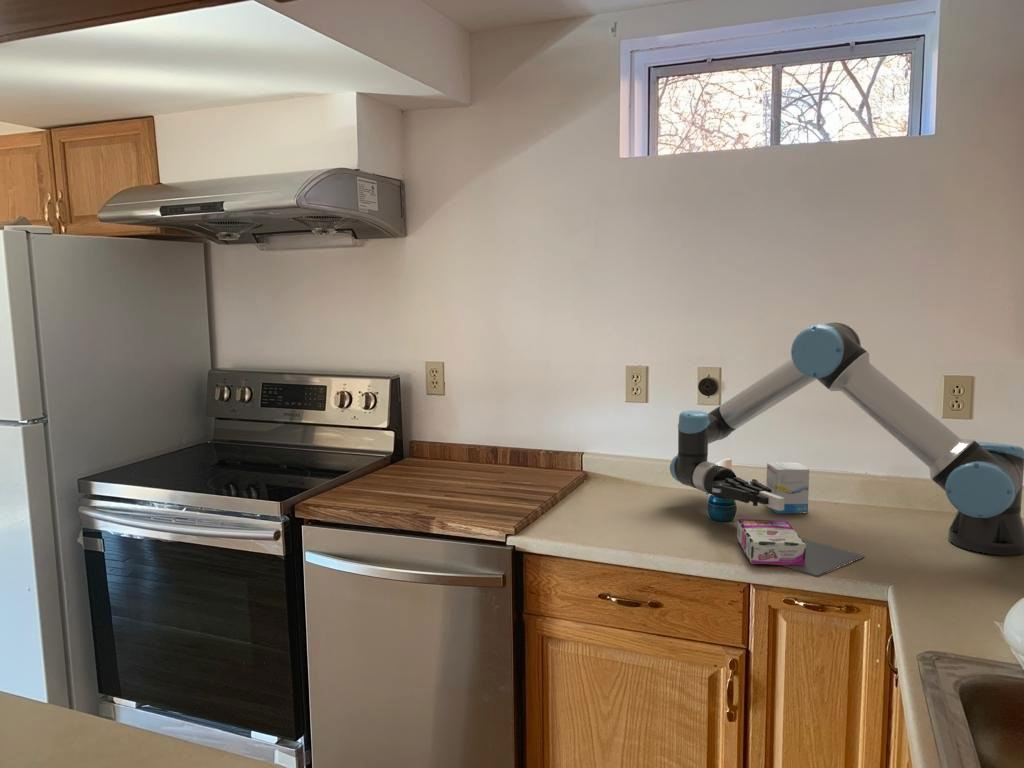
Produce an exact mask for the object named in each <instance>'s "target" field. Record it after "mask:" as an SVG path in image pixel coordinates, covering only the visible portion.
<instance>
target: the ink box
mask: <svg viewBox="0 0 1024 768" xmlns="http://www.w3.org/2000/svg"><path fill="white" fill-rule="evenodd" d="M765 484H766V485H765V486H766V487H768V488H770V489H772V494H774V495H777V496H780V497H783V498H785V500H784V510H781V511H778V510H775V509H773V508H770V507H768V508H769V509H770V510H771V509H772V510H773V511H774V512H775V513H774V512H773V511H772V510H771V511H772V512H773V513H774V514H804V513H803V512H808V513H809V494H810V493H809V491H810V490H809V488H810V469H809V468H807V467H806V466H804V465H803V464H801V463H799V462H794V461H793V462H788V461H787V462H786V461H785V462H780V461H775V462H766V483H765ZM800 512H801V513H800Z"/></svg>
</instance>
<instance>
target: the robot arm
mask: <svg viewBox="0 0 1024 768" xmlns="http://www.w3.org/2000/svg"><path fill="white" fill-rule="evenodd" d="M790 354H791V355H790V357H791V358H790V359H789V360H787V361H786V362H785V363H783V364H781V365H780V366H778V367H777V368H775V369H774V370H772V371H771V372H769V373H767V374H766V375H765V376H763V377H762V378H760V379H758V380H757V381H755V382H754V383H753V384H751V385H750V386H748V387H747V388H745V389H743V390H742V391H740V392H739V393H737V394H736V395H733V397H731V398H729V400H727V401H725V402H723V403H722V404H721V405H719V406H718V407H716V408H714V409H712V410H711V411H710V412H708V413H707V412H705V411H702V410H684V411H682V412H680V413H679V416H678V423H677V424H678V425H677V429H678V433H677V435H678V436H677V437H678V438H677V440H678V441H677V443H678V445H677V455H675V456H674V457H673V458H672V460H671V462H670V464H669V472H670V475H671V477H672V478H673V479H674V480H676V482H677V481H678V482H679V483H681V484H683V485H685V486H688V487H691V488H693V489H696V490H698V491H701V492H704V493H706V495H711V496H714V497H716V498H718V499H730V500H733V501H737V502H741V503H745V504H749V503H750V502H751V503H752V506H753V507H757V506H758V504H760V505H763V506H765V507H768V508H769V507H770V508H773V509H775V510H778V511H781V510H784V500H785V498H783V497H780V496H777V495H774V494H772V489H770V488H768V487H766V485H764V484H763V483H761V482H758V479H755V478H752V479H751V480H750V481H748V480H745V479H742V478H741V477H738V476H737V475H736V473H735V472H734V471H733V470H732V469H730V468H728V467H725V466H722V465H720V466H718V465H719V464H717V463H713V462H710V461H708V454H709V444H712V443H714V442H716V441H721V440H723V439H725V438H728V437H729V435H731V434H732V433H733V432H734V431H736V430H737V429H739V428H740V427H741V426H744V425H745V424H747V423H749V422H750V421H751V420H753V419H754V418H756V417H758V416H759V415H762V414H763V413H764V412H766V411H768V410H769V409H771V408H772V407H775V406H776V405H777V404H779V403H780V402H783V400H785V399H787V398H788V397H790V396H792V395H793V394H795V393H797V392H799V391H800V390H801V389H803V388H805V387H806V386H807V385H809V384H811V383H813V382H814V381H816V380H817V381H818V382H820V383H821V384H822V385H823V386H824V387H825V388H826V389H828V390H829V391H830V392H842V393H843V394H844V395H845V396H846V397H847V398H848V399H850V400H851V401H852V402H853V403H854V404H855V405H857V406H858V407H859V408H860V409H861V410H862V411H864V413H866V414H867V415H868V417H871V418H872V419H873V420H874V421H875V422H876V423H877V424H879V426H881V428H883V429H884V430H885V431H887V433H889V435H891V436H893V438H894V439H895V440H897V441H898V442H899V443H900V444H901V445H903V446H904V447H905V448H906V449H907V450H908V451H910V452H911V453H912V454H913V455H914V456H915V457H917V458H918V459H919V460H920V461H921V462H923V464H924V465H926V466H927V467H928V469H929V476H930V479H931V481H933V482H934V483H936V485H938V486H939V487H940V488H941V489H942V490H943V491H944V492H945V495H946V497H947V499H948V501H949V502H950V505H952V507H954V508H955V509H956V510H957V511H956V513H955V515H954V517H953V520H952V522H951V524H950V526H949V528H948V533H947V534H948V535H947V537H948V538H947V540H948V539H949V540H948V542H949V541H950V542H949V543H951V542H952V543H953V544H952V543H951V544H952V545H954V544H955V545H954V546H956V545H957V546H956V547H958V546H959V547H958V548H960V547H961V548H960V549H963V548H964V550H966V549H969V550H968V551H970V550H973V551H972V552H974V551H977V552H976V553H979V552H982V553H981V554H984V553H988V554H987V555H991V554H994V555H993V556H1020V555H1023V554H1024V523H1023V518H1022V513H1021V512H1022V498H1023V497H1022V496H1023V486H1024V485H1023V483H1024V448H1023V447H1021V446H1020V445H1014V444H1006V443H1005V444H1004V443H998V442H986V441H976V439H975V440H974V439H966V438H965V439H963V438H960V437H959V436H958V435H956V434H955V433H954V432H953V431H952V430H951V429H949V428H948V427H947V426H946V425H945V424H944V423H942V422H941V421H940V420H939V419H938V418H936V417H935V416H934V415H932V414H931V413H930V411H928V410H926V409H925V408H924V407H923V406H922V405H921V404H919V403H918V402H917V401H916V400H915V399H914V398H912V397H911V396H910V395H908V394H907V393H906V392H905V391H904V390H903V389H902V388H900V387H899V386H898V385H897V384H895V383H894V382H893V381H892V380H891V379H889V378H888V377H887V376H886V375H885V374H883V372H882V371H880V370H879V369H877V368H876V367H875V366H874V365H872V364H871V362H870V353H869V352H868V351H867V350H866V349H865V348H863V347H862V346H861V340H860V337H859V335H858V334H857V332H856V331H855V330H854V329H853V328H852V327H851V326H849V325H847V324H845V323H840V322H829V323H815V324H813V325H810V326H808V327H806V328H804V329H803V330H801V331H800V332H799V333H798V334H797V335H796V336H795V338H794V340H793V342H792V344H791V350H790ZM716 464H717V465H716ZM770 508H769V509H770Z"/></svg>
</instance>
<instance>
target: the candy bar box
mask: <svg viewBox="0 0 1024 768" xmlns="http://www.w3.org/2000/svg"><path fill="white" fill-rule="evenodd" d="M736 532H737V533H736V538H737V541H738V542H739V545H740V546H741V548H742V551H743V550H744V552H745V554H744V555H746V557H747V559H748V561H749V562H750V564H751V565H779V566H781V565H799V566H805V554H806V544H805V543H804V541H803V540H802V539H801V538H802V537H801V536H800V535H799V534H798V533H797V531H796V530H795V529H794V528H793V526H792V525H791V524H790V523H789V522H788V520H774V519H773V520H772V519H752V518H751V519H749V518H747V519H746V518H737V531H736Z"/></svg>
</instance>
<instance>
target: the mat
mask: <svg viewBox="0 0 1024 768" xmlns="http://www.w3.org/2000/svg"><path fill="white" fill-rule="evenodd" d="M800 538H801V539H802V540H803V541H804V543H805V544H806V554H805V566H799V565H780V566H782V567H785V568H787V567H788V569H791V568H792V569H791V570H794V569H795V570H794V571H797V570H798V572H800V571H801V572H800V573H803V572H804V573H803V574H806V573H807V574H806V575H810V576H813V577H815V578H818V577H820V576H823V575H825V574H824V573H826V572H828V571H830V572H832V571H831V570H833V569H835V568H837V567H839V566H842V565H844V564H847V563H849V562H851V561H854V560H856V559H859V558H861V557H863V556H865V555H863V554H861V553H860V554H859V553H856V552H852V551H849V550H845V549H842V548H838V547H835V546H831V545H827V544H824V543H820V542H817V541H813V540H809V539H806V538H802V537H800ZM848 551H849V552H848ZM741 554H743V555H746V554H745V552H744V550H743V549H742V550H741ZM835 570H836V569H835ZM833 571H834V570H833ZM828 573H829V572H828ZM822 574H823V575H822ZM826 574H827V573H826Z"/></svg>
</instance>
